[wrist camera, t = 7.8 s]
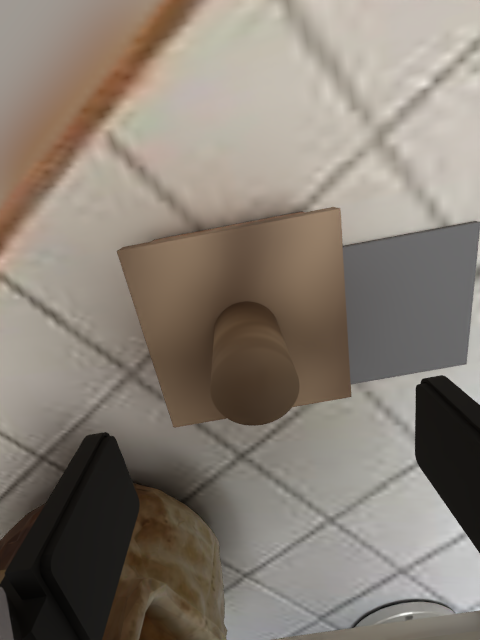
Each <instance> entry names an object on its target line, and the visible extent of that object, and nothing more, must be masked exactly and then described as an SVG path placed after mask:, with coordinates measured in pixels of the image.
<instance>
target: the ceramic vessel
mask: <svg viewBox="0 0 480 640" xmlns="http://www.w3.org/2000/svg"><path fill="white" fill-rule="evenodd" d="M133 485H134V487H135V490H136V492H137V495H138V498H139V503H140V507H139V513H138V517H137V520H136V523H135V527H134V530H133V534H132V537H131V541H130V544H129V548H128V551H127V555H126V558H125V562H124V565H123V569H122V572H121V576H120V579H119V583H118V586H117V590H116V593H115V597H114V600H113V604H112V607H111V611H110V614H109V618H108V621H107V625H106V628H105V632H104V635H103V638H102V640H226V635H227V629H226V627H225V625H224V592H223V588H224V585H223V577H222V567H221V561H220V557H219V542H218V540H217V538H216V536H215V535H214V533H213V531H212V530H211V529H210V528H209V527H208V525H207V524H206V523H205V522H204V521H203V520H202V519H201V517H200V516H199V515H197V514H196V513H195V512H194V511H192V510H191V509H190V508H189V507H188V506H186V505H185V504H183V503H182V502H180V501H178V500H176V499H175V498H173V497H171V496H169V495H168V494H166V493H164V492H162V491H161V490H159V489H155V488H151V487H147V486H143V485H139V484H135V483H133ZM44 506H45V504H43V505H42V506H40V507H38V508H37V509H35V510H33V511H32V512H30V513H28V514H27V515H26V516H25V517H24V518H23V519H21V520H20V521H19V522H18V523H17V524H16V525H15V526H14V527H13V528H12V529H11V530H10V531H9V532H8V533H7V534H6V535H5V536H4V537H3V538H2V540H1V541H0V583H1V581H2V580H3V578H4V576H5V571H6V569H7V568H8V566H9V564H10V563H11V561H12V559H13V558H14V556H15V554H16V553H17V551H18V549H19V547H20V546H21V544H22V542H23V541H24V539H25V537H26V536H27V534H28V532H29V531H30V529H31V527H32V526H33V524H34V522H35V521H36V519H37V517H38V516H39V514H40V512H41V511H42V509H43V507H44Z"/></svg>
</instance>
